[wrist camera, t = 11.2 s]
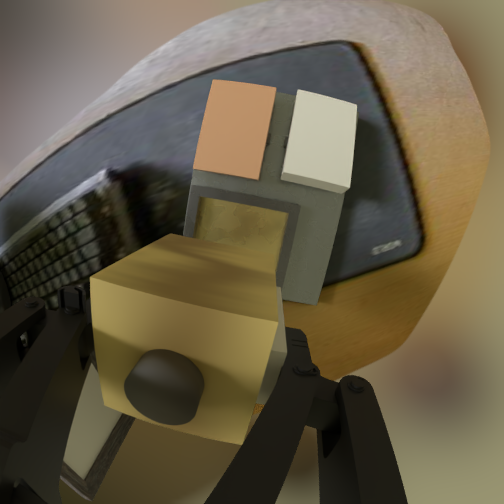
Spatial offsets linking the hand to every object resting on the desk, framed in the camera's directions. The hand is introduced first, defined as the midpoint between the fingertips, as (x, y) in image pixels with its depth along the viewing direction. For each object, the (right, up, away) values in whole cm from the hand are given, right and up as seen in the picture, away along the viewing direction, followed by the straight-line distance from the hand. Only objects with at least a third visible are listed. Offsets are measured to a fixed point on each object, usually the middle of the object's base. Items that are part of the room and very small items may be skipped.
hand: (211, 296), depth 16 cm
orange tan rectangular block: (+1, +14, +10) cm, 17 cm away
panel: (+4, +9, +14) cm, 17 cm away
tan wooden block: (0, 0, 0) cm, 0 cm away
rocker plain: (+9, +13, +10) cm, 18 cm away
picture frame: (-21, -18, +22) cm, 36 cm away
